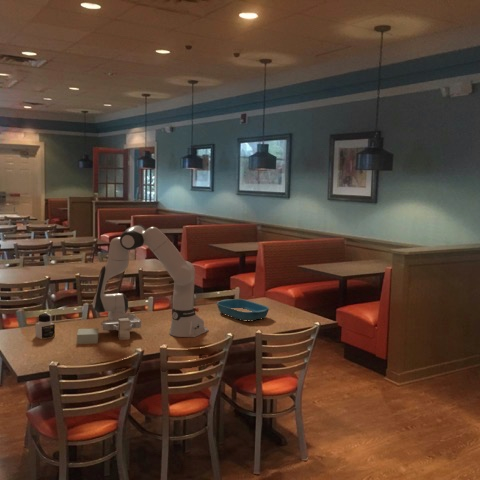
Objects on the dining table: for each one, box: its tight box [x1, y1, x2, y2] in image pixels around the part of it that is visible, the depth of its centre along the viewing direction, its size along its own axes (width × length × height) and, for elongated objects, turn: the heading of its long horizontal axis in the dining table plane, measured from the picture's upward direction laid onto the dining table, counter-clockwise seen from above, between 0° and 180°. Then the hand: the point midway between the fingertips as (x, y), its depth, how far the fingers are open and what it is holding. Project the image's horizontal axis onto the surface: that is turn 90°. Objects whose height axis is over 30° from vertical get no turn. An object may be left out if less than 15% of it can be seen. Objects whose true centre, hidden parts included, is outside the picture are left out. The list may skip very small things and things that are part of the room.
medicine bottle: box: [34, 313, 56, 340], centre depth 276 cm, size 7×7×12 cm
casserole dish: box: [216, 298, 270, 321], centre depth 333 cm, size 37×22×7 cm, turn 40°
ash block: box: [117, 318, 131, 341], centre depth 279 cm, size 5×5×10 cm
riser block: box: [76, 328, 99, 345], centre depth 274 cm, size 10×10×5 cm
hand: (124, 328), depth 278 cm, fingers closed on ash block, 5 cm apart
